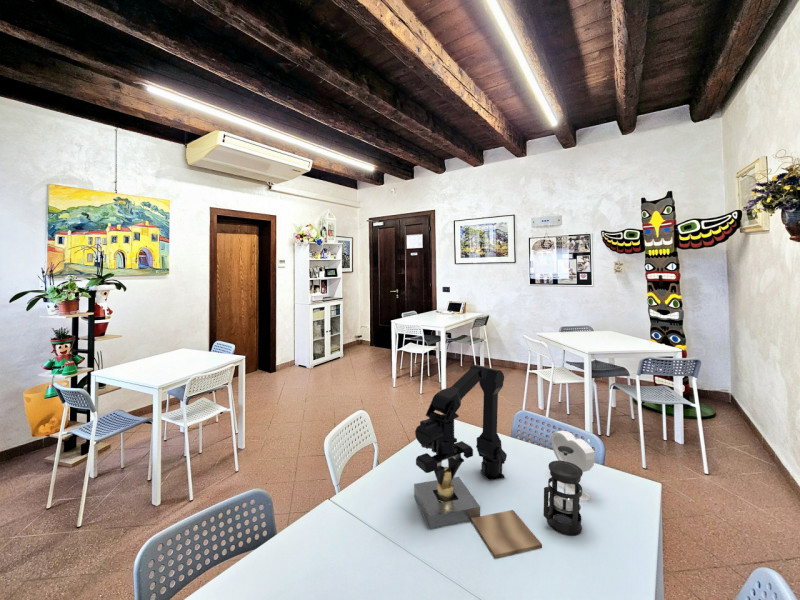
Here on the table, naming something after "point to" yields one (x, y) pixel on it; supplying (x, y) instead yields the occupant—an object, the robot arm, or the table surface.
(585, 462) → the heart sculpture
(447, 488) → the knob
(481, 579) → the table surface
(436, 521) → the plate
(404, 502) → the table surface
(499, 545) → the board
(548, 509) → the french press
